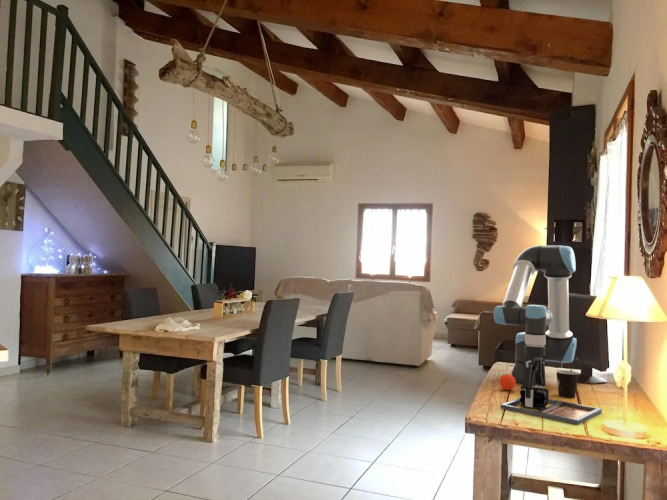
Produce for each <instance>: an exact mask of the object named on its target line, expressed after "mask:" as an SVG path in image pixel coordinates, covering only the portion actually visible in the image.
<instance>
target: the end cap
mask: <svg viewBox="0 0 667 500" xmlns="http://www.w3.org/2000/svg"><path fill="white" fill-rule="evenodd" d="M522 386H523V385H521V386H520V391H519V395H520V397H519V398H520V402H521V403H520V404H519V405H520V406H521V407H527V408H529V407H528V406H525V389H523V387H522ZM532 390H533V407H532V409H533V408H535V409H539V410H541V409H543V408H546V407H548V406H549V403H548V401H549V399H550V393H549V388H544V387H543V388H535V386H532Z"/></svg>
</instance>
